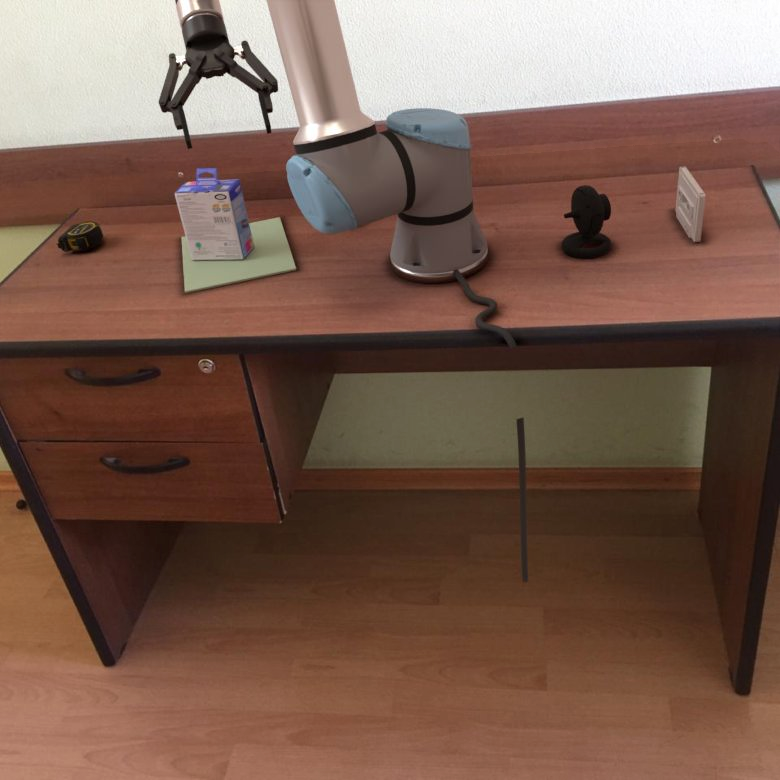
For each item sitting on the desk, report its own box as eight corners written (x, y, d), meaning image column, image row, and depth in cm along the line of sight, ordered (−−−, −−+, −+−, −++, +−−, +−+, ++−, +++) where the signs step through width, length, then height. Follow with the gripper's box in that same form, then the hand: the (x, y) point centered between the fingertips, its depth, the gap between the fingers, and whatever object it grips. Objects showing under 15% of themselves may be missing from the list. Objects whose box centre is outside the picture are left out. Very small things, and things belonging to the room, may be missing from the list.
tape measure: (78, 239, 155) (71, 220, 153) (112, 237, 154) (105, 219, 152) (60, 255, 150) (53, 236, 148) (95, 254, 148) (88, 235, 146)
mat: (296, 270, 134) (296, 268, 134) (185, 293, 132) (184, 291, 132) (280, 219, 152) (279, 216, 152) (181, 238, 150) (181, 236, 150)
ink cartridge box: (256, 245, 143) (238, 164, 134) (245, 260, 138) (226, 177, 130) (203, 246, 145) (181, 166, 137) (190, 261, 141) (168, 179, 132)
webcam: (620, 252, 127) (623, 190, 121) (575, 263, 125) (576, 201, 120) (596, 233, 133) (598, 173, 127) (553, 243, 132) (553, 183, 126)
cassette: (703, 242, 126) (709, 194, 122) (691, 243, 126) (696, 196, 122) (683, 210, 136) (688, 165, 132) (672, 211, 136) (676, 166, 132)
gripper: (275, 27, 149) (302, 134, 146) (135, 51, 146) (159, 161, 142) (272, 0, 142) (301, 111, 138) (125, 25, 139) (150, 140, 135)
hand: (229, 137), depth 140 cm, fingers open, 13 cm apart
